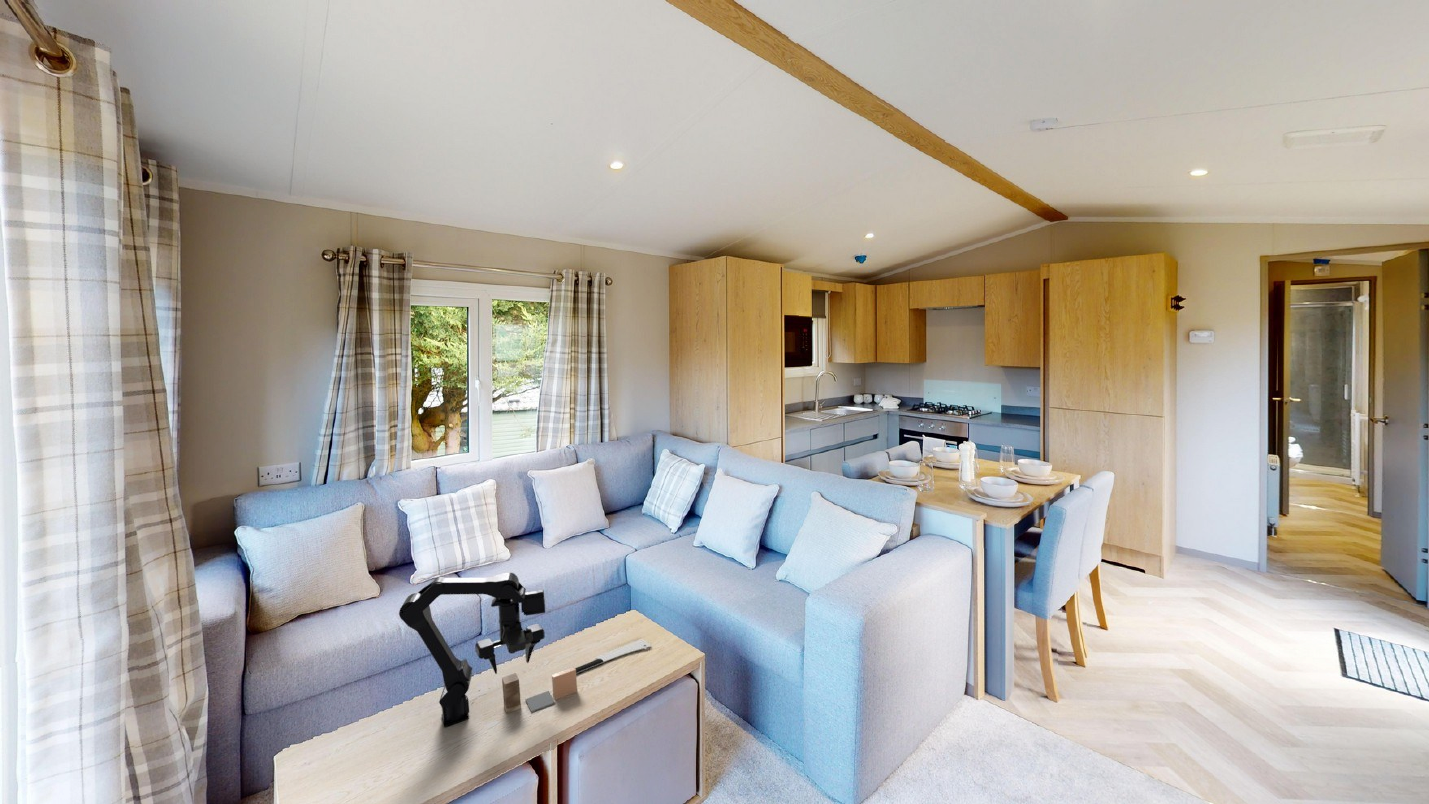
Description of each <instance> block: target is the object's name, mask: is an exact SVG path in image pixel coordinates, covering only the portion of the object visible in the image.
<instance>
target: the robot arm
mask: <svg viewBox="0 0 1429 804" xmlns="http://www.w3.org/2000/svg"><path fill="white" fill-rule="evenodd" d="M443 595H444V596H445V595H448V596H449V595H452V596H453V595H484V596H489V597H492V598H493V599H492V601H491V605H490V606H491V607H492V608H493V607H498V624H499V634H498V636H499V639H497V640H495V641H492V640H491V639H490V638H489V637H488V638H485V639H481V640H479V641H476V642H475V645H474V649H475V653H476V655H477V657H478V659H484V660H488V661H489V663H490V665H491V668H492V669H493V672H494V674H495V675H497V674H498V668H497V663H496V654H495V649H498V648H500V647H503V646H506V649H507V651H508V653H509V654H515V653H517V652H520V651H524V650H525V663H526V664H529V663H530V661H531V660H530V659H531V657H532V653H533V651H534V648H535V647H536V645H537V644H538V643H540V642H541V640H543V639H545V637H546V636H545V634H546V633H545V629H544V628H543V627H542V626H541V624H539V623H534V624H531V625H528V626H526V628H525V629H523V627H522V621H521V616H520V609H521V613H523V616H526V617H527V616H533V615H541V614H545V613H546V596H545V590H544V589H543V588H542V589H539V590H534V591H532V590H531V591H526V588H525V587H524V586H523V584H522V583H520V581H519V576H517V575H516V573H514V572H504V573H496V574H494V575H492V576H487V577H443V576H439V577H438V576H437V577H436V578H435V579H434V580H433V581H432V582H430V583H429V584H427V585H424V587H423V588H422V589H420V590H419V591H418V592H415V593H411V594H410V595H408V596H407V597H406V599H405V600H404V602H403V603H402V605H401V607H400V608H399V612H398V616H399V618H400V619H401V620H402V621H403V622H404V623H405V625H406V626H407V627H408V628H411V630H414V631H416V633H417V634H418V635H419V637H420V638H421V640H422V642H423V643H424V645H425V646H426V648H427V650H428V651H429V653H430V655H431V656H432V658H433V659H434V661H435V663H436V664H437V666H438V667H439V669H440V670H441V672H442V679H443V685H444V686H443V689H442V692H441V696H440V699H439V700H438V703H439V705H440V706H441V720H442V725H443V728H446V727H450V726H453V725H455V724H458V723H461V722H464V721H467V720H468V719H469V718H470V717H469V713H470V703H469V702H470V701H469V697H468V695H466V694H467V693H468V691H469V689H470V685H471V680H472V677H473V672H472V671H473V667H472V666H470V664H469V662H468V659H467V658H464V659H463V660H460V659H458V658H456V656H455V654H454V653H453V651H452V649H451V648H450V646H449V645H448V643H447V641H446V640H445V637H444V636H443V635H442V633H441V631H440V629H439V628H438V626H437V625H436V623H435V621H434V620H433V617H432V611H431V607H430V606H431V604H432V603H433V602H434V601H435V600H436V599H437V598H439V597H440V596H443ZM520 606H521V607H520Z"/></svg>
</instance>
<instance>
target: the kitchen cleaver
mask: <svg viewBox="0 0 1429 804" xmlns="http://www.w3.org/2000/svg"><path fill="white" fill-rule="evenodd" d="M650 647H651V644H650V643H649V642H648V641H646V640H644V639H643V638H640V639H637V640H635V641H632V642H630V643H627V644H625V645H622V646H620V647H617V648H615V649H612V650H609V651H607V652H604V653H602V654H599V655H596V656H594V660H592V661H591V662H587V663H584V664H583V665H580V666H577V667H574V668H575V669H576V676H577V675H579V674H581V673H584V672H587V671H588V670H591V669H593V668H597V667H599V666H602V665H603V664H604V663H606V662H608V661H611V660H613V659H616V658H618V657H621V656H624V655H627V654H630V653H633V652H636V651H640V650H644V649H647V648H648V649H649V648H650Z"/></svg>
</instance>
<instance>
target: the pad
mask: <svg viewBox="0 0 1429 804" xmlns="http://www.w3.org/2000/svg"><path fill="white" fill-rule="evenodd" d="M525 702H526V705H527V707H528V709H529V711H530V713H534V712H537V711H540V710H541V709H545V708H547V707H551V706H552V705H555V704H556V702H555V699H554V697H553V695H551V692H550V691H549V690H545V691H544V692H541V693H538V694H536V695H533V696H530V697H527V698H525Z"/></svg>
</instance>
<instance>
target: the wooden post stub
mask: <svg viewBox="0 0 1429 804" xmlns="http://www.w3.org/2000/svg"><path fill="white" fill-rule="evenodd" d="M501 681H502V682H501V683H502V693H503V694H502V697H503V707H504V710H505V712H506V714H510V713H512V712H514V711H517V710H520V709H522V704H521V703H522V702H521V687H520V679H519V676H518V675H517V673H513V674H509V675H505V676H503V677H501Z"/></svg>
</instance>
